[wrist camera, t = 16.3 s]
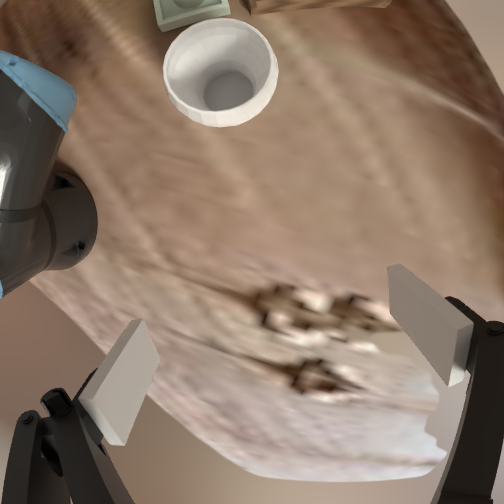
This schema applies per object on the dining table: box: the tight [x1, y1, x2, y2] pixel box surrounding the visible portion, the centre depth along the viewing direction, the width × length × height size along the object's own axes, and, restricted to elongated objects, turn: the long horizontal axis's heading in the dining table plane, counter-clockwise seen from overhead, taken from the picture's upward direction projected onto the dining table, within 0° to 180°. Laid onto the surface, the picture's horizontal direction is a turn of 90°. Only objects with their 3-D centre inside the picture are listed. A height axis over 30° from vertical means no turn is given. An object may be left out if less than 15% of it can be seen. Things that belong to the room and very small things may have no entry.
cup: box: [163, 18, 278, 127], centre depth 29 cm, size 11×11×15 cm
